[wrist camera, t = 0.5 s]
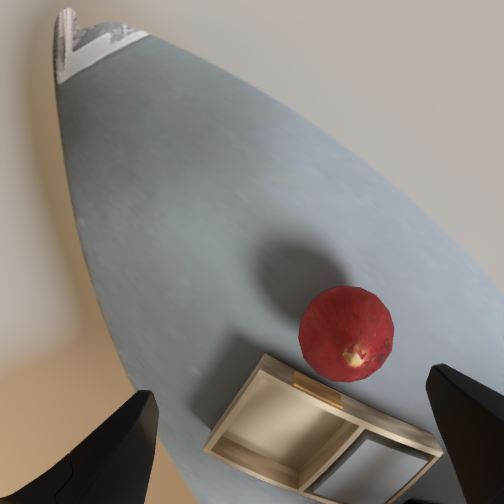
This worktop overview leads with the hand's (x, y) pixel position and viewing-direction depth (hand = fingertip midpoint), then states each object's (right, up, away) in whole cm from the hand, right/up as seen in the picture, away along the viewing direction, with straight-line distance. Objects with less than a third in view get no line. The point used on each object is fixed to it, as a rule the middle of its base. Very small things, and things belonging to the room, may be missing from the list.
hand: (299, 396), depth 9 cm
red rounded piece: (+5, 0, +13) cm, 14 cm away
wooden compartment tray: (+5, -11, +14) cm, 18 cm away
